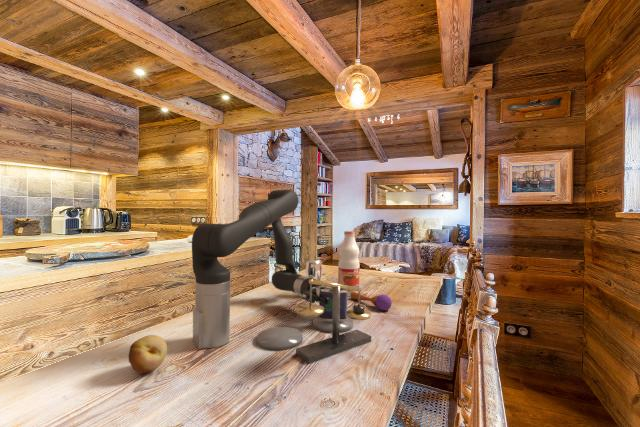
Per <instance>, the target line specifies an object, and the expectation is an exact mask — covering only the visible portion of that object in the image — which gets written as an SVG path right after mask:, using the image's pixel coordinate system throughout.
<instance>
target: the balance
mask: <svg viewBox="0 0 640 427" xmlns="http://www.w3.org/2000/svg"><path fill="white" fill-rule="evenodd" d="M309 283H310V302H309V303H307V304H306V303H305V304H301V305H298V306H297V307H296V313H297V315H298V314H299V315H300V316H304V317H318V316H319V315H322V314H323V313H324V307H322V306H320V305H319V304H315V303H312V284H314V285H320V286H326V287H330V288H332V287H333V312H332V333H331V337H329V338H325V339H322V340H319V341H316V342H312V343H309V344H306V345H304V346H300V347H295V355H296V356H297V357H299V358H300V359H302V360H303V361H305V362H306V363H308V364H309V365H310V364H313V363H315V362H318V361H321V360H323V359H326V358H329V357H332V356H334V355H338V354H340V353H342V352H345V351H348V350H351V349H354V348H357V347H359V346H362V345H365V344H368V343H371V342H372V335H370V334H367V333H366V332H363V331H362V330H360V329H354V330H349V331H346V332H343V333H342V334H341V333H339V328H340V289H345V290H351V291H357V292H358V300H357V304H354V305H353V306H352V309H347V317H348V318H350V319H352V320H358V321H364V320H369V319H371V317H372V312H371V311H369V310H367V309H365V306H364V305H361V302H360V301H361V300H360V294H361V291H362V288H361V287H360V286H359V287H353V286H348V285H342V284H338V283H336V282H330V281H323V280H321V281H319V280H313V279H310V280H309Z"/></svg>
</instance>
